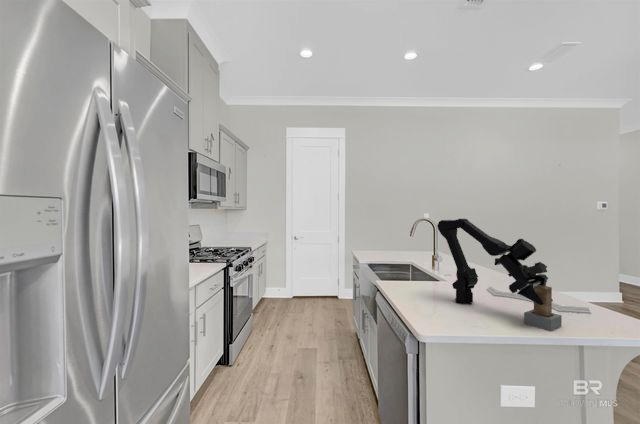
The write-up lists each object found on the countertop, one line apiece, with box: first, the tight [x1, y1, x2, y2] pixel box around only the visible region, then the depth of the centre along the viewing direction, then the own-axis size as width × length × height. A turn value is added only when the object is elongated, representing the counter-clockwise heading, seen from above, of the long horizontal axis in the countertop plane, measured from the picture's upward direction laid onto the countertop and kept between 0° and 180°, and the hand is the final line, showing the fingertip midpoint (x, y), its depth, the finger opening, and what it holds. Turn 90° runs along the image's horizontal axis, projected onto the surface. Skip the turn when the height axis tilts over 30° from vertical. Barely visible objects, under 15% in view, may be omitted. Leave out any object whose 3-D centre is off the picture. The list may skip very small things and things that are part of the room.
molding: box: [486, 285, 592, 315], centre depth 137 cm, size 42×12×3 cm, turn 31°
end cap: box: [523, 308, 563, 332], centre depth 108 cm, size 8×8×4 cm
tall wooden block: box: [533, 285, 553, 318], centre depth 108 cm, size 4×4×13 cm
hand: (547, 303), depth 107 cm, fingers open, 7 cm apart
